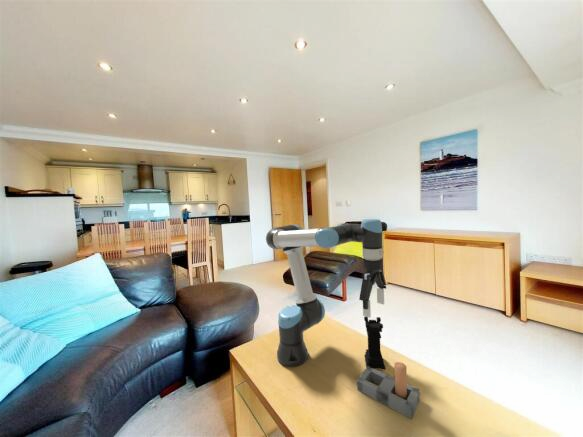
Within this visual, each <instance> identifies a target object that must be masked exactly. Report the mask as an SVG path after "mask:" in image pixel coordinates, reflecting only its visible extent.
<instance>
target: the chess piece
mask: <svg viewBox="0 0 583 437" xmlns="http://www.w3.org/2000/svg"><path fill="white" fill-rule="evenodd" d="M363 320H364V322H365V329H366V330H365V331H366V335H367V349H365V352H364V353H365V354H364V362H365V367H366V368H367V367H368V366H369V367H371V368H373V369H375V370H386V365H385V363H384V362H385V361H384V359H383V355H382V351H381V339H382V335H381V333H382V332H383V328H384V324H383V323H382V322H381V320H382V319H381V317H380V316H377V317H376V319H369V317H366V316H363ZM366 368H365V369H366Z"/></svg>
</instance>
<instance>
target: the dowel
mask: <svg viewBox="0 0 583 437" xmlns="http://www.w3.org/2000/svg"><path fill="white" fill-rule="evenodd" d="M393 367H394V378H395V395H396V396H398V397H400V398H402V399H404V400H406V401H407V384H408V381H407V379H408V378H407V376H408V375H407V374H408V373H407V372H408V371H407V365H406V364H405V363H403V362H400V361H396V362H395V363H394V366H393Z"/></svg>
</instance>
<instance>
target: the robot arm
mask: <svg viewBox="0 0 583 437" xmlns="http://www.w3.org/2000/svg"><path fill="white" fill-rule="evenodd" d="M265 241H266V244H267V246H268V247H269V248H271V249H273V250H282V252H283V253H284V254H286V256H287V260H288V264H289V265H288V266H289V268H290V273H291V277H292V281H293V285H294V288H295V292H296V301H295V305H290V306H286V307H284V308H282V309H281V310H280V311H279V314H278V319H277V320H278V321H277V323H278V332H279V334H278V335H279V343H278V349H277V351H276V352H277V353H276V357H277V358H276V359H277V362H278V363H279V364H280V365H282V366H285V367H287V368H288V367H289V368H290V367H298V366H299V367H300V366H301V365H303V364H304V363H305V362H306V361H307V360H308V356H309V355H308V354H309V353H308V352H309V351H308V348H307V346H306V344H305V341H304V332H305V331H308V330H309V329H311V328H312V327H314V326H315V325H318V324H319V323H320V322H321V321H323V319H324V317H325V315H326V313H325V312H326V309H325V305H324V303H323V302H322V301H321V300H320V299H319V298H318V296H316V295H315V294H314V291H313V287H312V285H311V280H310V276H309V272H308V269H307V264H306V261H305V257H304V253H303V249H304V247H309V248H310V247H320V248H322V249H330V248H331V249H332V248H334V247H336V246H340V245H343V244H347V243H351V242H354V243H361V244H362V247H361V248H362V249H361V250H362V258H363V259H362V266H363V268H364V269H365V270H366V273H362V280H361V287H360V292H359V300H360V301H361V302H362V316H363V317H368V319H369V318H371V317H372V316H371V311H372V310H371V300H370V298H371V294H372V289H373V286H374V285H375V283H376V286H377V287H376V303H377V304H379V305H380V304H381V305H383V306H384V305H385V289H387V282H386V278H385V275H384V274H385V273H384V270H383V268H384V259H383V257H384V256H383V254H384V253H385V252H384V250H383V225H382V221H381V219H377V218H368V219H367V218H366V219H363V220H362V221H361V223H360V224H359V223H348V222H345V223H338V224H337V225H335V226H329V227H320V228H319V227H318V228H307V229H304V228H302V226H300V225H298V224H288V225H283V226H278V227H273V228H271V229H270V230H269V231H268V232H267V233H266V236H265Z"/></svg>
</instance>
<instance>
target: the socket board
mask: <svg viewBox="0 0 583 437" xmlns="http://www.w3.org/2000/svg"><path fill="white" fill-rule="evenodd" d="M372 382H374V383H375V384H374V383H372ZM376 384H377V385H376ZM356 387H357V388H356V390H357V391H359V392H361V393H363V394H364V395H366V396H368V397H369V398H372V399H374V400H375V401H377V402H380V403H381V404H382V405H385V406H387V407H388V408H390V409H392V410H394V411H396V412H398V413H399V414H401V415H402V416H405V417H407V419H411V420H412V419H413V417H414V416H415V413H416V410H417V407H418V406H419V405H418V404H419V402H420V399H421V398H420V395H421V394H420V389H419V388H416V387H415V386H412V385H410V384H408V383H407V401H406V400H404V399H402V398H400V397H398V396H396V395H395V377H393V376H390V375H388V374H386V373H384V372H381V370H380V371H379V370H378V369H373V368H371V367H369V366H368V367H367V368H365V369H364V371H363V372H362V373H361V375H360V376H359V377H358V378H357V380H356Z"/></svg>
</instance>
